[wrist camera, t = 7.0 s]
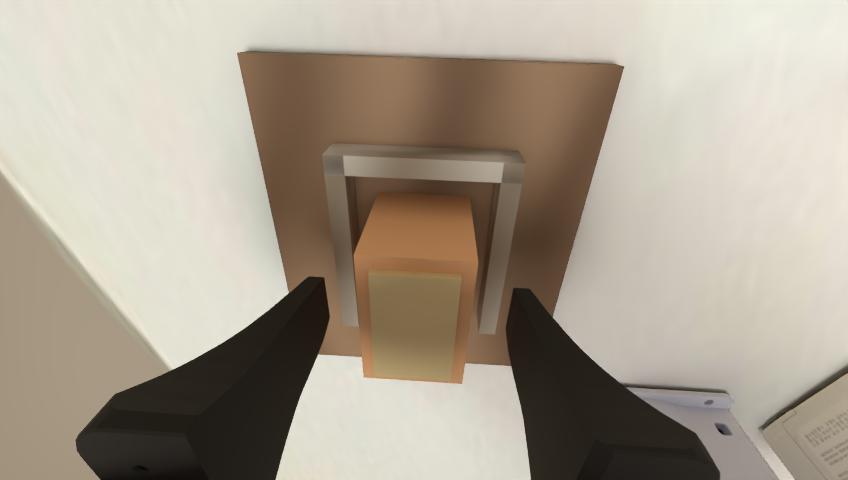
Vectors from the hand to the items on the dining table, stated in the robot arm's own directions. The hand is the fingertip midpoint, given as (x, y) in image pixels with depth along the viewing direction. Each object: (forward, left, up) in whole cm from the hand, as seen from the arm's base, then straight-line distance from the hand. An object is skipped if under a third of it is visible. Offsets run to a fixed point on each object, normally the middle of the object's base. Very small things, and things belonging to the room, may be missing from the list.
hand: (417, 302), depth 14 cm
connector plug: (0, 0, -4) cm, 4 cm away
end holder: (0, 0, -5) cm, 5 cm away
